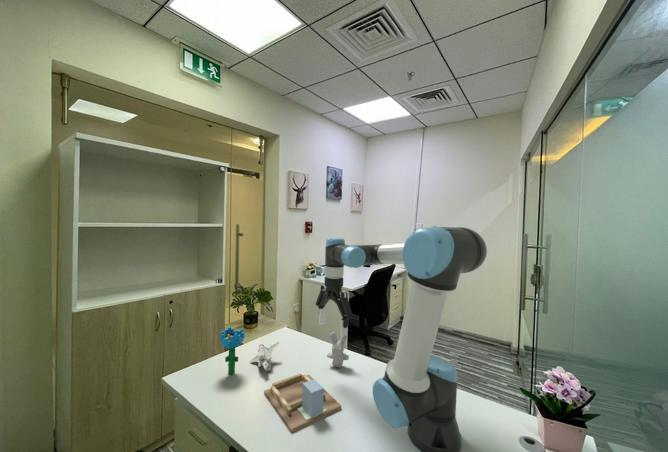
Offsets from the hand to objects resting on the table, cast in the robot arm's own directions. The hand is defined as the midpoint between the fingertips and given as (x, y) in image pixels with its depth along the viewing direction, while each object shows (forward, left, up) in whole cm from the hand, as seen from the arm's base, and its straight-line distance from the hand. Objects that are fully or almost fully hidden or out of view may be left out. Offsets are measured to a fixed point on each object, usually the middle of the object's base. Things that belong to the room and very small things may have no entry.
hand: (332, 329), depth 107 cm
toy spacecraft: (+20, +13, -13) cm, 27 cm away
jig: (-4, +16, -21) cm, 26 cm away
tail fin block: (-11, +16, -20) cm, 27 cm away
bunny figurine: (+7, -9, -21) cm, 24 cm away
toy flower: (+27, +32, -21) cm, 47 cm away
